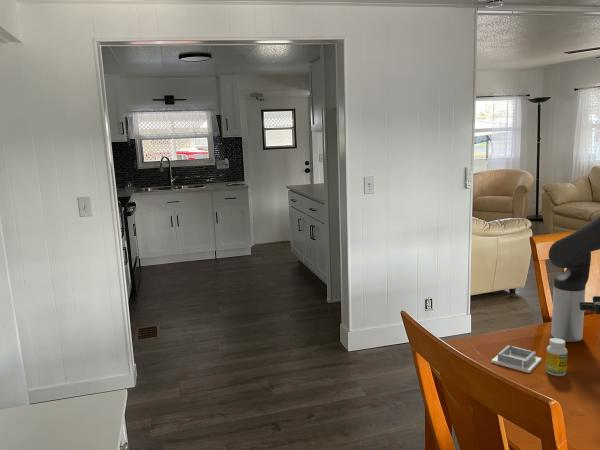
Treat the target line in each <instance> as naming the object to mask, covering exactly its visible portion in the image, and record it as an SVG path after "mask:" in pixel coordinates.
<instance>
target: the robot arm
mask: <svg viewBox="0 0 600 450" xmlns="http://www.w3.org/2000/svg"><path fill="white" fill-rule="evenodd" d="M599 250H600V214H599V215H598V216H596V217H595V218H594V219H592V220H591V221H589V222H588V223H585V225H583V226H582V227H580V228H578V229H577V230H575V231H574V232H572V233H570V234H569V235H566V236H564V237H563V238H562V237H561V238H560V239H558V240H556V241H554V242H553V243H552V244H551V246H550V248H549V250H548V261H550V263H551V264H552V265H553V266H555V267H556V268H559V269H565V271H563V272H562V273H560V274H559V275H556V276H555V277H554V279H553V295H552V313H551V316H552V317H551V329H550V330H551V331H550V332H551V333H550V335H551V337H552V338H559V339H562V340H564V341H565V342H569V343H571V342H572V343H573V342H574V343H575V342H580V341H582V340H583V333H584V332H583V330H584V320H585V319H584V316H585V312H594V313H595V314H596V315H600V295H595V296H592V301H586V300H585V299H586V286H587V284H588V281H589V276H590V271H591V269H590V267H591V263H592V252H596V251H599Z"/></svg>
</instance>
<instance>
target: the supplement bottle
mask: <svg viewBox="0 0 600 450" xmlns="http://www.w3.org/2000/svg"><path fill="white" fill-rule="evenodd" d="M548 341H549V343H548V344H549V345H548V346H547V347H546V353H545V372H546V373H547V374H549V375H552V376H556V377H562V376H565V375H566V374H567V367H568V366H567V365H568V349H567V348H566V341H564V340H562V339H559V338H554V337H552V338H549V340H548Z"/></svg>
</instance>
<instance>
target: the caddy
mask: <svg viewBox="0 0 600 450" xmlns="http://www.w3.org/2000/svg"><path fill="white" fill-rule="evenodd" d="M536 353H537V351H532V350H530V349H529V350H528V349H524V348H521V347H518V346H513V345H512V346H511V345H509V344H507V345H506V346H505V347H504V348H503V349H501V351H499V352H498V353H497V355H496V356H494V358H492V359H491V360H490V361H491V363H492V364H495V365H499V366H503V367H507V368H510V369H514V370H517V371H519V372H520V371H521V372H524V373H529V374H530V373H531V372H532V371H533V370H534V369H535V368H536V367H537V366H538V365H539V364H540V363H541V362H542V359H543V358H542V357H539V356H536V355H537V354H536Z"/></svg>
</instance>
